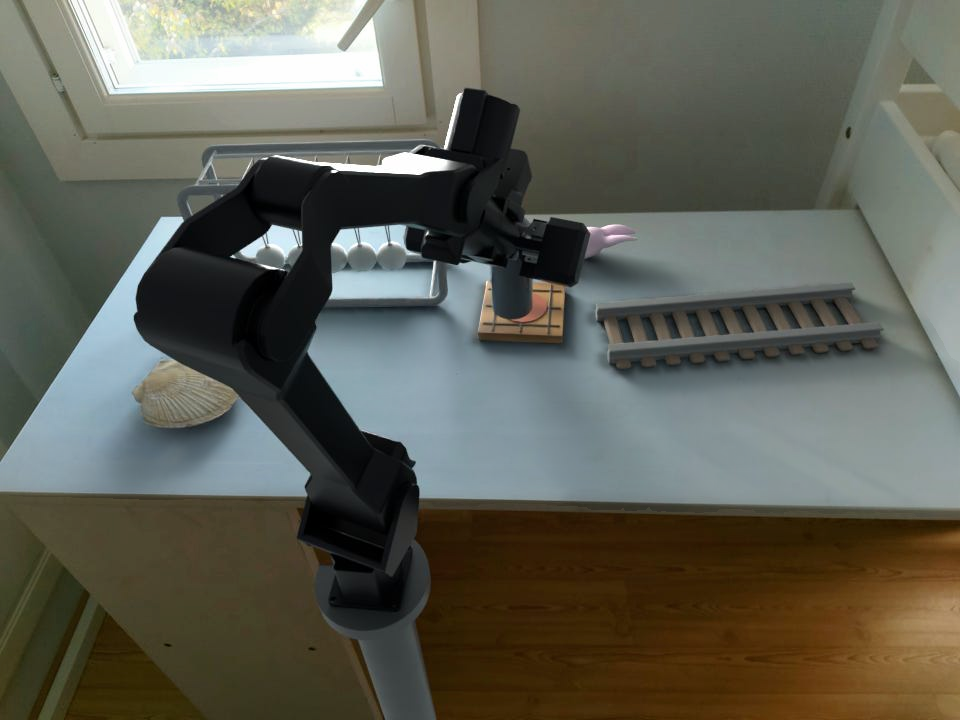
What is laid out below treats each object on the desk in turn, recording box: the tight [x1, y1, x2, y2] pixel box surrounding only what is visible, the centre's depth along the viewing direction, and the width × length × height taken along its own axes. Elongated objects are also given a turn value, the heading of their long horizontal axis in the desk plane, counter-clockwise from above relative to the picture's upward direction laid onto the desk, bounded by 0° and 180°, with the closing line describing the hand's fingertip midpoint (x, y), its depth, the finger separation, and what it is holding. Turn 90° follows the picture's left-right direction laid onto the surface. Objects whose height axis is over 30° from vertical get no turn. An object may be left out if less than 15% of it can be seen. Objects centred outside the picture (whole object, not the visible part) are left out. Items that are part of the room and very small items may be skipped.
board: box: [477, 280, 566, 344], centre depth 92 cm, size 10×10×1 cm
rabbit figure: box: [584, 224, 638, 260], centre depth 99 cm, size 6×6×15 cm
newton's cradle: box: [176, 138, 449, 308], centre depth 93 cm, size 30×10×18 cm, turn 88°
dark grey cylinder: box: [489, 216, 534, 319], centre depth 84 cm, size 5×5×12 cm
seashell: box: [131, 359, 240, 429], centre depth 84 cm, size 12×12×3 cm
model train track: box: [594, 281, 884, 371], centre depth 89 cm, size 11×31×2 cm, turn 94°
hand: (515, 254), depth 84 cm, fingers closed on dark grey cylinder, 5 cm apart
